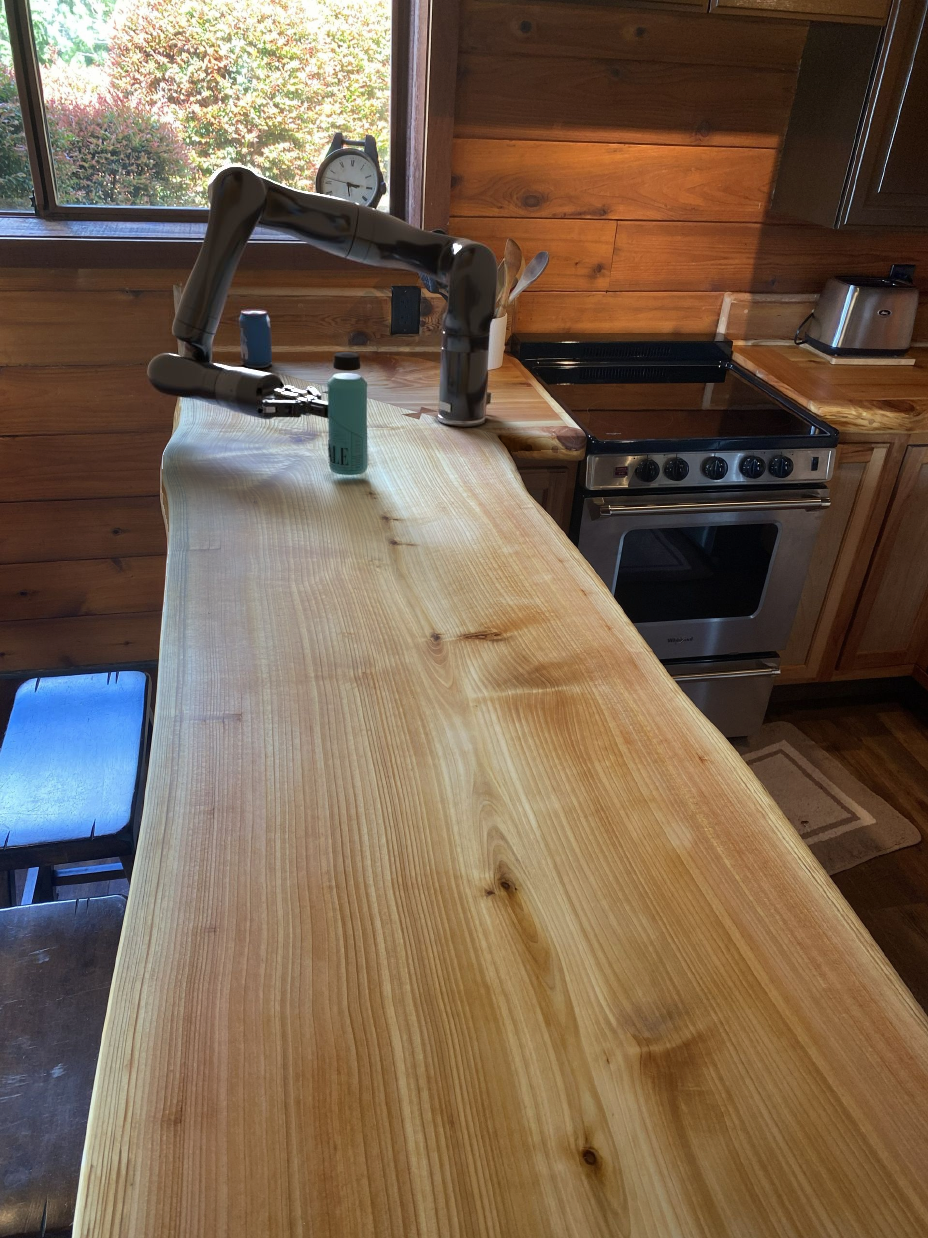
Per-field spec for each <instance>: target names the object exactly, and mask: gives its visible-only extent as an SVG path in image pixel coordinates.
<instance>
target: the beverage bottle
mask: <svg viewBox="0 0 928 1238" xmlns="http://www.w3.org/2000/svg"><path fill="white" fill-rule="evenodd" d="M360 357H361V356H360V355H359V354H358V353H357V352H356V353H355V352H349V351H341V352H340V351H339V352H335V354H334V356H333V364H332V365H333V369H335V370H338V371H345V372H340V373H335V374H334V375H333V376H332V377H330V378H329V379H328V380H327V383H326V386H327V399H326V401H327V402H328V407H327V408H328V412H327V413H328V417H327V418H326V419H327V423H328V431H327V434H328V440H327V443H328V444H327V451H328V452H327V453H328V456H327V457H328V458H327V459H328V467H329V469H330V471H331V472H333V473H335V474H337V475H341V476H356V475H360V474H361V475H362V474H363V473H366V472H367V470H368V466H369V459H368V458H369V452H368V450H369V447H368V382H367V380H365V379H364V377H362V376H361V375H359V374H357V373H352V371H357V370H360V369H361V358H360ZM346 371H349V372H346ZM350 371H351V372H350Z"/></svg>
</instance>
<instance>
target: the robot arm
mask: <svg viewBox="0 0 928 1238" xmlns="http://www.w3.org/2000/svg"><path fill="white" fill-rule="evenodd" d="M206 190H207V191H206V193H207V200H208V203H209V205H210V207H209V212H208V220H207V225H206V231H205V235H204V239H203V242H202V245H201V248H200V251H199V254H198V255H197V258H196V261H195V264H194V265H193V268H192V270H191V272H190V274H189V276H188V278H187V281H186V284H185V286H184V289H183V291H182V295H181V297H180V300H179V304H178V306H177V310H176V313H175V316H174V319H173V322H172V325H171V326H172V327H171V333H172V335H173V336H174V338H175V339H177V340H178V341H179V342H181V343H183V353H182V355H179V354H176V353H170V352H161V353H160V354H157V355H155V356H154V357H153V358H152V359H151V360H150V361H149V363H148V365H147V370H146V375H147V379H148V382H149V384H150V385H151V387H152V388H153V389H154V390H156V391H157V392H158V393H160V394H163V395H166V396H172V397H176V398H183V399H190V400H196V401H199V402H202V403H205V404H207V405H211V406H215V407H219V408H223V409H226V410H229V411H231V412H234V413H238V414H242V415H246V416H250V417H252V418H253V417H254V418H258V419H262V420H272V419H274V418H297V419H298V418H301V417H302V416H306V417H310V416H315V417H319V418H320V417H321V418H323V419H324V418H325V419H328V418H327V417H328V413H327V412H328V408H327V407H328V401H327V400H322V394H321V393H320V392H319V390H318V388H317V389H316V387H315V386H312V385H310V386H309V385H308V386H307V388H306V389H305V390H302V389H299V388H296V387H295V386H293V385H285V384H284V383H283V381H282V379H281V378H280V376H278V375H277V374H275V373H271V372H266V371H261V370H256V369H254V368H249V367H242V366H232V365H231V366H230V365H226V364H221V363H217V362H215V363H214V362H213V361H212V360H213V359H212V358H213V342H214V338H215V336H216V333H217V330H218V327H219V325H220V320H221V318H222V315H223V311H224V308H225V305H226V302H227V299H228V295H229V292H230V289H231V286H232V282H233V279H234V276H235V273H236V270H237V267H238V265H239V263H240V260H241V257H242V255H243V253H244V251H245V249H246V246H247V244H248V242H249V241H250V239H251V237H252V234H253V233H254V231H255V229H256V228H260V229H263V230H269V231H272V232H277V233H282V234H285V235H288V236H290V237H293V238H296V239H298V240H300V241H302V242H304V243H306V244H308V245H310V246H312V247H315V248H317V249H319V250H322V251H323V252H327V253H329V254H332V255H334V256H337V257H340V258H344V259H347V260H350V261H354V262H357V263H361V264H363V265H369V266H374V267H379V268H386V269H396V270H397V269H398V270H407V271H411V272H415V273H417V274H421V275H423V276H426V277H429V278H430V279H433V280H435V281H437V282H440V283H442V284H445V285H446V286H448V295H447V296H448V297H447V307H446V310H445V312H444V313H443V315H442V317H441V329H440V330H441V331H440V334H441V335H440V359H439V384H438V385H439V387H438V402H437V410H438V411H437V420H438V421H439V422H440V423H442V424H444V425H447V426H452V427H463V428H465V427H466V428H468V427H477V426H481V425H483V424H484V423H485V422H486V417H487V407H488V405H490V404H491V400H492V392H490V391H488V383H489V370H488V368H489V367H488V366H489V356H490V355H489V353H490V337H491V334H490V333H491V325H492V322H493V320H494V316H495V311H496V303H497V293H498V281H499V266H498V260H497V258H496V255H495V253H494V252H493V250H492V249H491V248H489V247H488V245H485V244H484V243H482V242H479V241H477V240H473V239H470V238H467V237H459V236H453V235H447V234H442V233H436V232H433V231H428V230H424V229H422V228H419V227H417V226H415V225H412V224H410V223H408V222H406V221H404V220H402V219H400V218H398V217H396V216H394V215H391V214H389V213H387V212H385V211H382V210H379V209H377V208H373V207H371V206H368V205H365V204H362V203H358V202H355V201H352V200H348V199H344V198H340V197H336V196H332V195H331V196H330V195H326V194H320V193H314V192H308V191H302V190H297V189H294V188H292V187H288V186H286V185H283V184H281V183H278V182H276V181H273V180H271V179H269V178H266V177H264V176H262V175H260V174H257V172H255V171H254V170H252V169H251V168H249V167H246V166H244V165H239V164H226V165H224V166H221V167H220V168H218V169H216V171H214V173H212V175H211V177H210V178H209V181H208V183H207V188H206Z"/></svg>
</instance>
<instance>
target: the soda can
mask: <svg viewBox="0 0 928 1238" xmlns="http://www.w3.org/2000/svg"><path fill="white" fill-rule="evenodd" d="M238 326H239V327H238V328H239V338H240V339H239V340H240V357H241V361H242V364H244V366H245V367H246V368H251V369H260V368H261V369H262V368H267V367H269V366H270V365H271V363H272V360H273V351H272V331H271V319H270V317H269V314H268V311H267V310H264V309H256V308H254V309H253V308H250V309H249V308H248V309H243V310H241V311H240V316H239V318H238Z"/></svg>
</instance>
